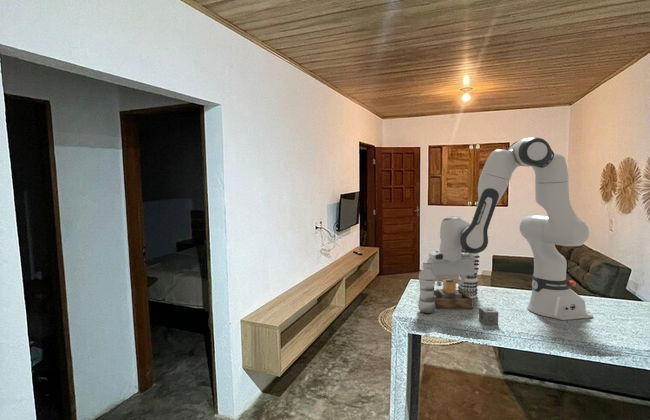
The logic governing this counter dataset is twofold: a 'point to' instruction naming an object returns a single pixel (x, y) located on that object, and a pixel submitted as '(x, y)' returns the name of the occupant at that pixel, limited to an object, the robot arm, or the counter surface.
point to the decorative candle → (470, 279)
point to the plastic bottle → (427, 289)
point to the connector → (449, 286)
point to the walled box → (452, 300)
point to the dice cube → (488, 316)
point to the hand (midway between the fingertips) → (449, 285)
